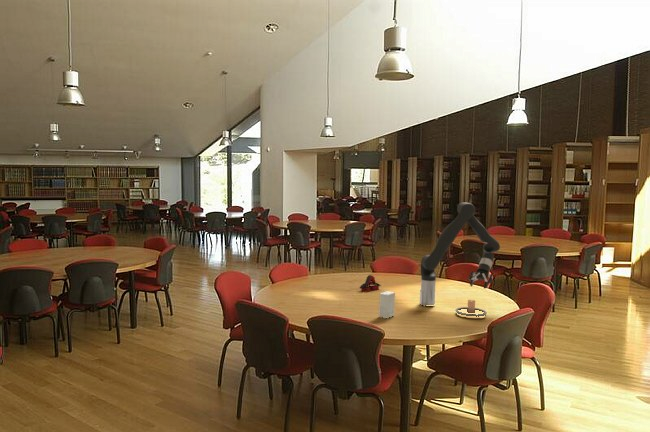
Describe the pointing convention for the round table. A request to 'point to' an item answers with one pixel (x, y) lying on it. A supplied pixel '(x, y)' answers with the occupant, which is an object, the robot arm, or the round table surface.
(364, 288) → the logo sign
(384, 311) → the skincare box
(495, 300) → the round table surface
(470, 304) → the clay spool
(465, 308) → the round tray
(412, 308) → the round table surface
